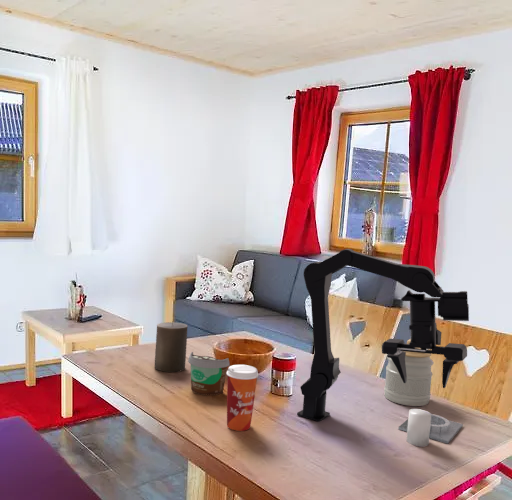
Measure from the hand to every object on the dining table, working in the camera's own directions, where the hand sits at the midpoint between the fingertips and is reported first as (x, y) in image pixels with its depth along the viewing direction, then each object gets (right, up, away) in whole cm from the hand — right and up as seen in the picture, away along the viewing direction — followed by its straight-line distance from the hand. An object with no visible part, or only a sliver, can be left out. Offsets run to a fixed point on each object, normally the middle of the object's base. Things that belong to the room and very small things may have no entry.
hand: (424, 385), depth 128 cm
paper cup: (-44, -10, 0) cm, 45 cm away
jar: (+4, -11, +29) cm, 31 cm away
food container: (-55, -8, +22) cm, 60 cm away
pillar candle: (-67, -5, +43) cm, 80 cm away
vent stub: (-2, -13, -1) cm, 13 cm away
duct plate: (+4, -13, +8) cm, 15 cm away
